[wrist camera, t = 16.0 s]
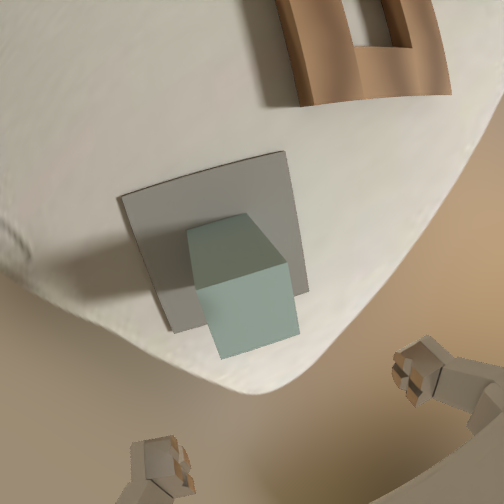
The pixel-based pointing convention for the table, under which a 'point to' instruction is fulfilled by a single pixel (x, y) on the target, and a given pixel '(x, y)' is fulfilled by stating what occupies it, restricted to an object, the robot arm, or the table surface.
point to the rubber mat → (208, 211)
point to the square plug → (241, 285)
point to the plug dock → (363, 53)
